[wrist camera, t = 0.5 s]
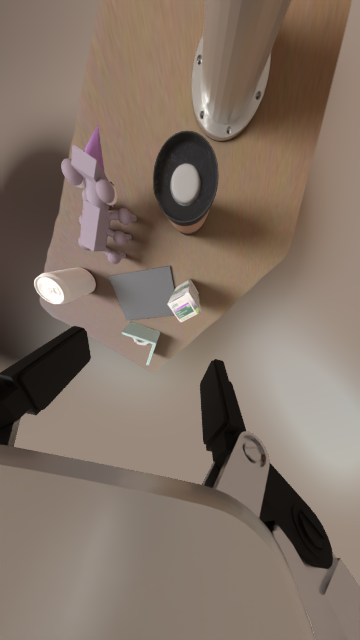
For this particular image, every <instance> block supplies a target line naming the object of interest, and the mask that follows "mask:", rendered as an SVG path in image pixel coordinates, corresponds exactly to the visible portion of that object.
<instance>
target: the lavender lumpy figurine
mask: <svg viewBox="0 0 360 640" xmlns="http://www.w3.org/2000/svg"><path fill="white" fill-rule="evenodd" d="M61 166H62V171H63V174H64V176H65V177H66V179H67V180H68V181H69V182H70V183H71V184H73V185H75V186H77V187H79V188H85V189H84V190H83V192H82V197H83V199H84V202H83V213H82V215H81V216H80V218H79V222H80V224H81V235H80V238H79V239H78V243H79V245H80V247H81V248H83V249H85V250H92V251H103V252H104V253H105V254H107V257H108V260H109V261H110V262H111V263H114V264H117V263H119V262H120V260H121V259H123V258H125V257H126V254H125V253H120V254H119V253H118V252H116V251H110V250H109V249H108V248H107V247H106V243H107V237H108V235H109V236H110V237H112V238H113V240H114V241H115V243H116V244H118V245H121V246H122V245H125V244H126V242H127V240H131V239H132V236H131V235H130V234H124V233H123V232H122V231H115V232H114V231H112V230H110V229H109V227H110V221H111V220H119V221H120V222H121V223H122V224H124V225H129V224H131V222H132V221H134V222H136V221H137V217H136V216H135V215H132V214H131V213H130V211H129V210H127V209H126V208H120V209H119V210H118V212H108V211H106V210H109V205H110V206H112V207H113V208H114V204H115V203H116V202H117V199H118V195H117V191H116V189H115V187H114V185H113V183H112V182H109V181H108V179H107V177H106V176H105V173H104V166H103V159H102V151H101V144H100V137H99V130H98V125H97V127H96V129H95V131H94V133H93V135H92V137H91V139H90V140H89V142H88V144H87V146H86V148H85V150H84V151H82V150H81V149H79V148H78V147H76V146H75V145H73V149H72V159H64V160H63V161H62V165H61ZM105 209H106V210H105Z"/></svg>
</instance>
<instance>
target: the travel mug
mask: <svg viewBox="0 0 360 640" xmlns="http://www.w3.org/2000/svg"><path fill="white" fill-rule="evenodd" d="M217 186H218V164H217V159H216V156H215V153H214V151H213V149H212V147H211V145H210V144H209V142H208V141H207V140H206V139H205V138H204V137H203V136H201V135H200V134H198V133H196V132H193V131H181V132H179V133H176V134H175V135H173V136H172V137H170V138H169V139H168V140H167V141H166V142H165V144H164V145H163V146H162V148H161V150H160V152H159V154H158V156H157V159H156V162H155V166H154V173H153V189H154V194H155V197H156V199H157V201H158V204H159V206H160V208H161V210H162V211H163V213H164V214H165V216H166V217H167V218H168V219H169V220H170V222H171V223H172V224H173V226H174V227H175V228H176V229H177V230H178V231H180V232H181V233H182V234H185V235H193V234H195V233H196V232H198V231H199V229H200V228H201V227H202V225H203V224H204V222H205V220H206V218H207V215H208V213H209V210H210V208H211V205H212V203H213V200H214V198H215V195H216V191H217Z"/></svg>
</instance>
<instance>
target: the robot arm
mask: <svg viewBox="0 0 360 640" xmlns="http://www.w3.org/2000/svg"><path fill="white" fill-rule="evenodd" d="M290 2H291V0H205V9H204V29H203V35H202V37H201V40H200V42H199V45H198V49H197V52H196V55H195V60H194V65H193V73H192V102H193V108H194V113H195V116H196V119H197V122H198V124H199V126H200V128H201V129H202V131H203V132H204V133H205V134H206V135H207V136H208V137H210V138H211V139H214V140H216V141H225V140H229V139H231V138H233V137H235V136H237V135H238V134H239V133H240V132H242V131H243V129H244V128H245V127H246V126H247V125H248V124H249V122H250V121H251V119H252V118H253V116H254V114H255V112H256V110H257V108H258V106H259V104H260V102H261V100H262V97H263V95H264V91H265V88H266V85H267V81H268V76H269V71H270V62H271V50H272V48H273V45H274V43H275V40H276V38H277V35H278V33H279V30H280V28H281V25H282V23H283V20H284V18H285V15H286V13H287V10H288V7H289V5H290ZM199 64H200V65H199ZM256 99H257V100H256ZM201 117H202V118H203V119H201ZM227 132H229V134H228V133H227ZM90 358H91V356H90V350H89V344H88V337H87V332H86V331H85V329H84V328H81V327H77V326H73V327H71V328H70V329H68V330H67V331H65V332H64V333H62V334H60V335H59V336H57V337H56V338H54V339H53V340H51V341H49V342H48V343H46V344H45V345H43V346H42V347H40V348H38V349H37V350H35V351H34V352H32V353H31V354H29V355H27V356H26V357H24V358H23V359H21V360H20V361H18V362H16V363H15V364H13V365H12V366H10V367H9V368H7V369H5V370H4V371H2V372H1V373H0V640H360V587H359V585H358V584H357V582H356V581H355V579H354V578H353V576H352V575H351V573H350V572H349V570H348V569H347V568H346V566H345V564H344V563H343V562H342V560H341V559H340V558H336V557H335V555H334V554H333V552H332V548H331V545H330V542H329V539H328V536H327V534H326V532H325V530H324V528H323V526H322V524H321V523H320V521H319V519H318V518H317V516H316V515H315V514H314V512H313V511H312V510H311V509H310V507H309V506H308V505H307V504H306V503H305V502H304V501H303V500H302V498H301V497H300V496H299V495H298V494H297V493H296V492H295V491H294V489H293V488H292V487H291V486H290V485H289V484H288V483H287V482H286V480H285V479H284V478H283V477H282V476H281V475H280V474H279V473H278V471H277V470H276V469H275V468H274V467H273V466H272V465H271V464H270V460H269V456H268V453H267V451H266V448H265V446H264V445H263V443H262V442H261V441H260V439H259V438H258V437H257V436H255V435H254V434H253V433H250V432H247V431H246V429H245V426H244V422H243V419H242V416H241V412H240V409H239V405H238V402H237V399H236V395H235V392H234V389H233V385H232V383H231V382H230V381H229V380H228V376H227V373H226V369H225V365H224V362H223V361H220V360H217V359H215V360H214V361H211V363H210V365H209V367H208V369H207V371H206V373H205V375H204V377H203V379H202V381H201V383H200V394H201V411H202V427H203V442H204V444H206V449H207V451H212V455H213V461H214V462H213V464H212V466H211V468H210V470H209V472H208V474H207V476H206V477H205V479H204V481H203V483H202V485H200V484H195V483H191V482H186V481H182V480H178V479H173V478H169V477H164V476H159V475H154V474H149V473H144V472H139V471H134V470H129V469H124V468H119V467H114V466H109V465H104V464H99V463H94V462H89V461H84V460H79V459H73V458H68V457H63V456H58V455H53V454H47V453H42V452H37V451H32V450H26V449H21V448H16V447H14V443H15V439H16V435H17V431H18V427H19V422H20V418H21V417H22V416H23V415H24V414H25V413H28V414H33V415H37V414H38V413H39V412H40V411H41V410H43V409H45V408H46V407H47V406H48V405H49V404H50V403H51V402H52V401H53V400H54V399H55V398H56V396H57V395H58V394H59V393H60V392H61V391H62V390H63V389H64V388H65V387H66V386H67V385H68V384H69V382H70V381H71V380H72V379H73V378H74V377H75V376H76V375H77V374H78V373H79V372H80V371H81V370H82V368H83V367H84V366H85V365H86V364H87V363H88V362H89V361H90ZM305 609H306V610H305ZM306 612H307V613H306ZM307 614H308V615H307ZM308 616H309V618H308ZM309 619H310V621H311V624H312V627H311V624H310V621H309ZM312 628H313V630H312ZM313 631H314V633H313ZM314 635H315V636H314ZM315 638H316V639H315Z"/></svg>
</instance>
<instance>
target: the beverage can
mask: <svg viewBox="0 0 360 640" xmlns="http://www.w3.org/2000/svg"><path fill="white" fill-rule="evenodd" d="M34 286H35V288H36V290H37V292H38V294H39V295H40V296H41V297H42V298H43V299H45V300H46V301H48V302H50V303H52V304H65V303H68V302H70V301H73V300H75V299H77V298H79V297H82V296H84V295H86V294H89V293H91V292H93V291H94V290H95V287H96V283H95V280H94V278H93V276H92V275H91V274H90V273H89V272H88V271H87V270H85V269H83V268H71V269H65V270H60V271H54V272H48V273H43V274H41V275H40V276H39V277H37V278H36V279H35V281H34Z"/></svg>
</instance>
